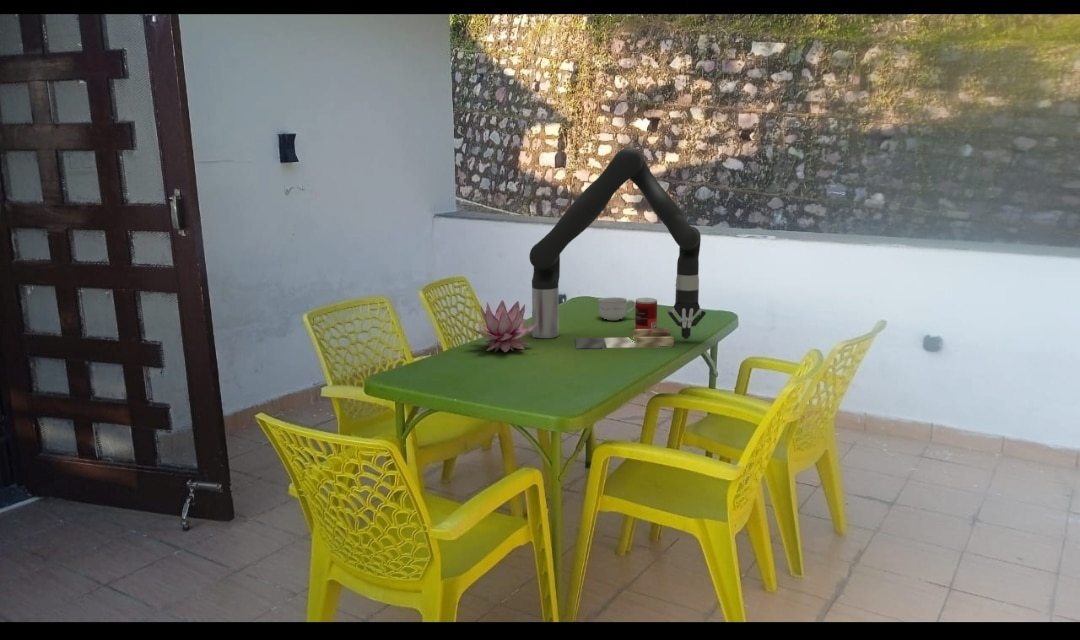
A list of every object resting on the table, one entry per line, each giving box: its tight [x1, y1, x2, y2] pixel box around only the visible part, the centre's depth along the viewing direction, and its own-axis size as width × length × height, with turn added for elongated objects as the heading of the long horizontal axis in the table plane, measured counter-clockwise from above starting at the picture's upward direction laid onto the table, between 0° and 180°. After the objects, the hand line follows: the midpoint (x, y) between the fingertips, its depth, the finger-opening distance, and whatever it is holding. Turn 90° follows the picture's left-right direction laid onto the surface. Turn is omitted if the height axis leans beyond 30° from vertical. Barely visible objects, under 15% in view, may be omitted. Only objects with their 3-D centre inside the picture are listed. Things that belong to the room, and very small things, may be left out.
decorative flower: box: [469, 300, 537, 353], centre depth 265 cm, size 21×21×15 cm
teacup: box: [598, 296, 636, 321], centre depth 306 cm, size 14×11×8 cm
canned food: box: [634, 297, 658, 329], centre depth 289 cm, size 8×8×11 cm
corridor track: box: [574, 328, 675, 350], centre depth 272 cm, size 32×13×3 cm, turn 90°
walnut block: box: [650, 327, 672, 337], centre depth 271 cm, size 6×6×4 cm
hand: (685, 338), depth 272 cm, fingers closed
